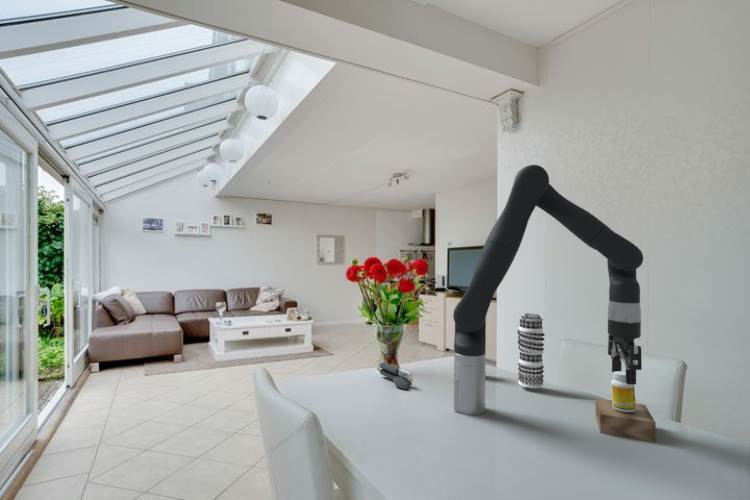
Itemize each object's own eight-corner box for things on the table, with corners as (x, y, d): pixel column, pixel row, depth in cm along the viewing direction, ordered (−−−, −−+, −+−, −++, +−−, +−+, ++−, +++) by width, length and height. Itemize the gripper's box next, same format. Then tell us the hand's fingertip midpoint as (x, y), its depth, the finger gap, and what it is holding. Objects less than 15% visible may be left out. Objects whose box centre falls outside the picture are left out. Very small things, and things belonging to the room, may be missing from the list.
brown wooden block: (600, 437, 103) (600, 414, 103) (595, 418, 114) (595, 398, 114) (655, 446, 99) (655, 422, 99) (645, 426, 110) (645, 404, 110)
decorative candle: (516, 386, 139) (516, 315, 139) (517, 378, 148) (517, 311, 148) (544, 390, 136) (545, 317, 136) (544, 381, 145) (544, 313, 144)
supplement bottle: (610, 405, 110) (608, 370, 110) (633, 406, 108) (630, 371, 108) (614, 411, 105) (612, 375, 105) (638, 413, 103) (635, 376, 103)
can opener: (416, 387, 139) (416, 373, 139) (401, 390, 136) (401, 376, 136) (387, 372, 156) (387, 359, 156) (373, 375, 153) (373, 362, 153)
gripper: (598, 313, 114) (598, 369, 114) (620, 323, 100) (619, 387, 100) (627, 314, 113) (626, 371, 113) (653, 324, 99) (652, 389, 99)
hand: (623, 378), depth 106 cm, fingers open, 8 cm apart
